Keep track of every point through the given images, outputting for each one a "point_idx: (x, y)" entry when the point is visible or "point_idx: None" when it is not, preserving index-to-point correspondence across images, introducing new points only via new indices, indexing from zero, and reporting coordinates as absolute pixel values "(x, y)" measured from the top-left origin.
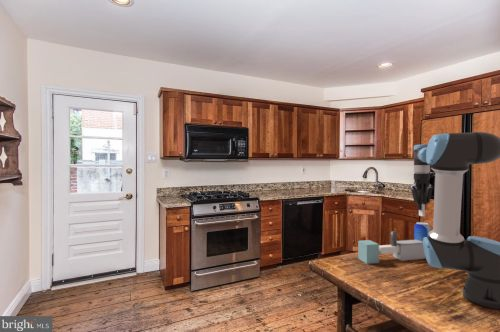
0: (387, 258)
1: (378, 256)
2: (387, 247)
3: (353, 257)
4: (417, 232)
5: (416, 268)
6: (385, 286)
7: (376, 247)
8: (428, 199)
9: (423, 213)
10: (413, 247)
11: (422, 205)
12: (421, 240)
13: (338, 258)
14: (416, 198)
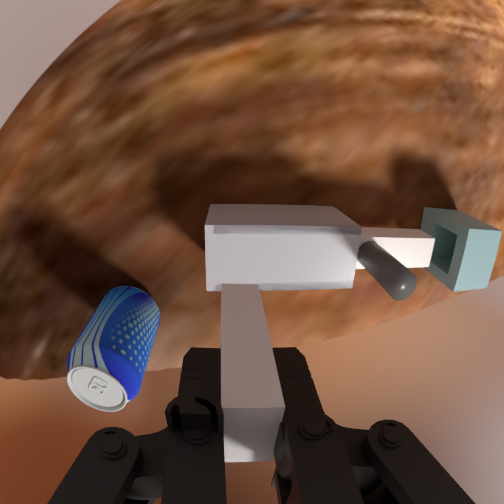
0: None
1: (439, 213)
2: (409, 237)
3: None
4: (143, 355)
5: (343, 116)
6: (494, 67)
7: (467, 224)
8: (104, 495)
9: (247, 303)
10: (282, 219)
11: (280, 392)
12: (140, 317)
13: None
14: (458, 487)
